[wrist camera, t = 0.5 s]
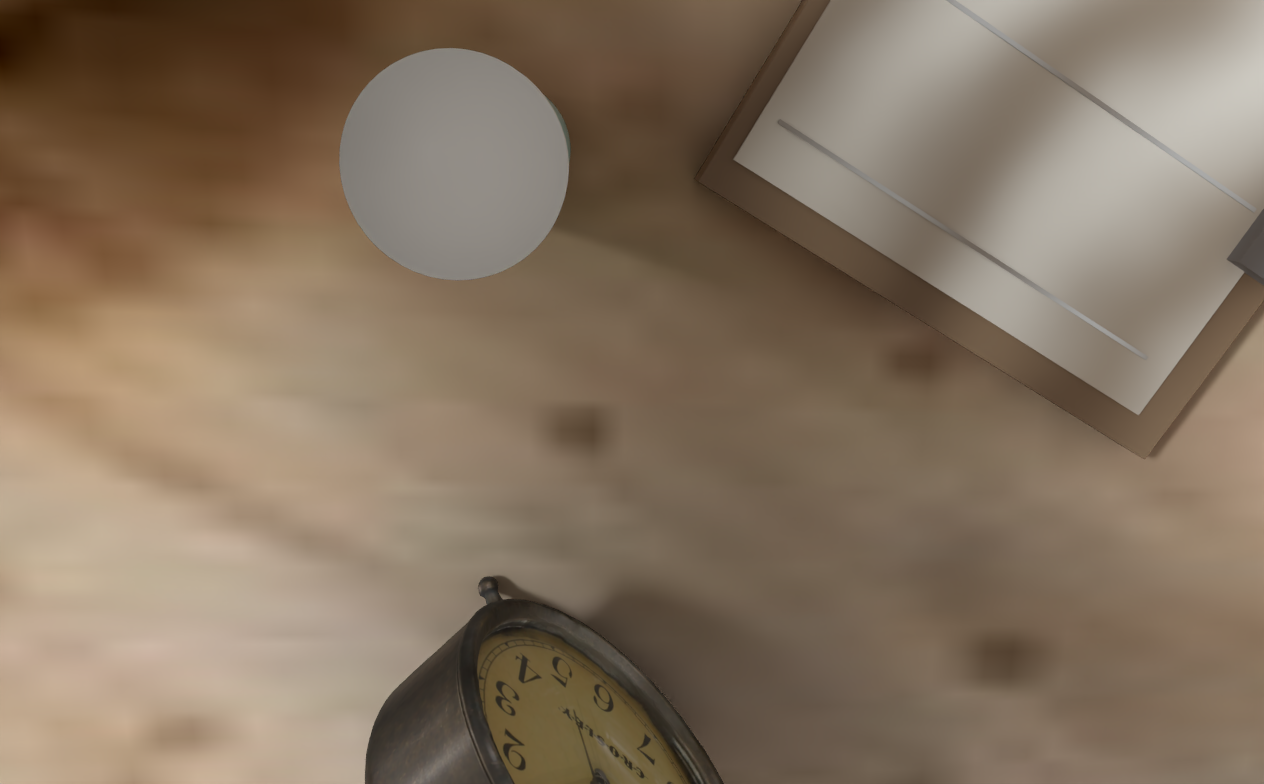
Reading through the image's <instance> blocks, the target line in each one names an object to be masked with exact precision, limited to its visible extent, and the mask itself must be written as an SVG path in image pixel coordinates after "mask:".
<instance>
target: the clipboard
mask: <svg viewBox="0 0 1264 784" xmlns="http://www.w3.org/2000/svg"><path fill="white" fill-rule="evenodd" d="M694 179H695V180H696V181H698V182H700V183H701V184H703V185H704V186H706V187H708V188H709V189H711V190H712V191H714V192H716V193H717V194H719V195H720V196H722V197H724V198H725V199H727V200H728V201H730V202H732V203H733V204H735V205H736V206H738V207H740V208H741V209H743V210H744V211H746V212H748V213H749V214H751V215H752V216H754V217H756V218H757V219H759V220H760V221H762V222H764V223H765V224H767V225H769V226H770V227H772V228H773V229H775V230H777V231H778V232H780V233H781V234H783V235H785V236H786V237H788V238H789V239H791V240H793V241H794V242H796V243H797V244H799V245H801V246H802V247H804V248H805V249H807V250H809V251H810V252H812V253H813V254H815V255H817V256H818V257H820V258H821V259H823V260H825V261H826V262H828V263H829V264H831V265H833V266H834V267H836V268H838V269H839V270H841V271H842V272H844V273H846V274H847V275H849V276H850V277H852V278H854V279H855V280H857V281H858V282H860V283H862V284H863V285H865V286H866V287H868V288H870V289H871V290H873V291H874V292H876V293H878V294H879V295H881V296H882V297H884V298H886V299H887V300H889V301H890V302H892V303H894V304H895V305H897V306H898V307H900V308H902V309H903V310H905V311H907V312H908V313H910V314H911V315H913V316H915V317H916V318H918V319H919V320H921V321H923V322H924V323H926V324H927V325H929V326H931V327H932V328H934V329H935V330H937V331H939V332H940V333H942V334H943V335H945V336H947V337H948V338H950V339H951V340H953V341H955V342H956V343H958V344H959V345H961V346H963V347H964V348H966V349H967V350H969V351H971V352H972V353H974V354H975V355H977V356H979V357H980V358H982V359H984V360H985V361H987V362H988V363H990V364H992V365H993V366H995V367H996V368H998V369H1000V370H1001V371H1003V372H1004V373H1006V374H1008V375H1009V376H1011V377H1012V378H1014V379H1016V380H1017V381H1019V382H1020V383H1022V384H1024V385H1025V386H1027V387H1028V388H1030V389H1032V390H1033V391H1035V392H1036V393H1038V394H1040V395H1041V396H1043V397H1044V398H1046V399H1048V400H1049V401H1051V402H1053V403H1054V404H1056V405H1057V406H1059V407H1061V408H1062V409H1064V410H1065V411H1067V412H1069V413H1070V414H1072V415H1073V416H1075V417H1077V418H1078V419H1080V420H1081V421H1083V422H1085V423H1086V424H1088V425H1089V426H1091V427H1093V428H1094V429H1096V430H1097V431H1099V432H1101V433H1102V434H1104V435H1105V436H1107V437H1109V438H1110V439H1112V440H1113V441H1115V442H1117V443H1118V444H1120V445H1122V446H1123V447H1125V448H1126V449H1128V450H1130V451H1131V452H1133V453H1135V454H1136V455H1138V456H1140V457H1141V458H1143V459H1146V457H1147V456H1148V455H1149V453H1150V452H1151V451H1152V449H1153V448H1154V447H1155V445H1156V444H1157V443H1158V441H1159V440H1160V439H1161V437H1162V436H1163V435H1164V433H1165V432H1166V431H1167V429H1168V428H1169V427H1170V425H1171V424H1172V423H1173V421H1174V420H1175V419H1176V417H1177V416H1178V415H1179V413H1180V412H1181V411H1182V409H1183V408H1184V407H1185V405H1186V404H1187V403H1188V401H1189V400H1190V398H1191V397H1192V396H1193V394H1194V393H1195V392H1196V390H1197V389H1198V388H1199V386H1200V385H1201V384H1202V382H1203V381H1204V380H1205V378H1206V377H1207V376H1208V374H1209V373H1210V372H1211V370H1212V369H1213V368H1214V366H1215V365H1216V364H1217V362H1218V361H1219V360H1220V358H1221V357H1222V356H1223V354H1224V353H1225V352H1226V350H1227V349H1228V348H1229V346H1230V345H1231V344H1232V342H1233V341H1234V340H1235V338H1236V337H1237V336H1238V334H1239V333H1240V332H1241V330H1242V329H1243V328H1244V326H1245V325H1246V324H1247V322H1248V321H1249V320H1250V318H1251V317H1252V316H1253V314H1254V313H1255V312H1256V310H1257V309H1258V308H1259V306H1260V305H1261V304H1262V302H1263V301H1264V0H802V2H801V4H800V5H799V7H798V9H797V10H796V12H795V14H794V15H793V17H792V19H791V20H790V22H789V23H788V25H787V27H786V28H785V30H784V32H783V33H782V35H781V37H780V38H779V40H778V42H777V43H776V45H775V47H774V48H773V50H772V52H771V53H770V55H769V56H768V58H767V60H766V61H765V63H764V65H763V66H762V68H761V70H760V71H759V73H758V75H757V76H756V78H755V80H754V81H753V83H752V84H751V86H750V88H749V89H748V91H747V93H746V94H745V96H744V98H743V99H742V101H741V103H740V104H739V106H738V108H737V109H736V111H735V113H734V114H733V116H732V117H731V119H730V121H729V122H728V124H727V126H726V127H725V129H724V131H723V132H722V134H721V136H720V137H719V139H718V141H717V142H716V144H715V145H714V147H713V149H712V150H711V152H710V154H709V155H708V157H707V159H706V160H705V162H704V164H703V165H702V167H701V169H700V170H699V172H698V174H697V175H696V177H695V178H694Z"/></svg>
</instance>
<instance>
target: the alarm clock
mask: <svg viewBox="0 0 1264 784" xmlns="http://www.w3.org/2000/svg"><path fill="white" fill-rule="evenodd" d="M478 589H479V593H480V596H482V597H484V598H485V599H486V603H487V605H486V606H484V607H482V608H481V609H480V610H479V611H477V612H476V613H475V615H474V616H473V617H472V618H471V619H470V621H469V622H468V623H467V624H466V625H465V626H464V627H462V628H461V629H460V630H459V631H458V632H457V633H456V634H455V635H454V636H453V637H452V638H450V639H449V640H448V641H447V642H446V643H445V644H444V645H443V646H442V647H441V648H440V649H438V650H437V651H436V652H435V653H434V654H433V655H432V656H431V657H430V658H428V659H427V660H426V661H425V662H424V663H423V664H422V665H421V666H420V667H419V668H417V669H416V670H415V671H414V672H413V673H412V674H411V675H410V676H409V677H408V678H407V679H406V680H405V681H403V682H402V683H401V684H400V685H399V686H398V687H397V688H396V689H395V690H394V691H393V692H392V694H391V695H390V696H389V697H388V699H387V700H386V701H385V703H384V705H383V706H382V708H381V710H380V712H379V714H378V716H377V718H376V721H375V723H374V726H373V729H372V732H371V736H370V740H369V744H368V749H367V753H366V767H365V784H724V783H723V781H722V779H721V778H720V776H719V774H718V772H717V770H716V769H715V767H714V765H713V763H712V762H711V760H710V758H709V756H708V755H707V753H706V751H705V750H704V748H703V747H702V746H701V744H700V743H699V742H698V740H697V739H696V737H695V736H694V734H693V733H692V731H691V730H690V729H689V727H688V726H687V724H686V723H685V722H684V720H683V719H682V718H681V716H680V715H679V714H678V713H677V711H676V710H675V709H674V708H673V707H672V705H671V704H670V703H669V701H668V700H667V699H666V698H665V696H664V695H663V694H662V693H661V692H660V690H659V689H658V688H657V687H656V686H655V685H654V684H653V682H652V681H651V680H650V679H649V678H648V677H647V676H646V675H645V674H644V673H643V672H642V671H641V670H640V669H639V668H638V667H637V666H636V665H635V664H634V663H632V662H631V661H630V660H629V659H628V658H627V657H626V656H625V655H624V654H622V653H621V652H620V651H619V650H618V649H617V648H615V647H614V646H613V645H612V644H611V643H609V642H608V641H607V640H606V639H604V638H603V637H602V636H601V635H599V634H598V633H597V632H595V631H594V630H592V629H591V628H589V627H588V626H586V625H585V624H583V623H582V622H580V621H578V620H576V619H574V618H572V617H570V616H568V615H567V614H565V613H563V612H561V611H559V610H557V609H554V608H551V607H548V606H546V605H541V604H538V603H535V602H532V601H527V600H517V599H507V600H502V598H501V597H500V595H499V593H498V582H497V581H496V579H494V578H493V577H484V578H483V579H482V580H481V581H480V583H479V585H478Z"/></svg>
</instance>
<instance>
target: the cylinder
mask: <svg viewBox="0 0 1264 784" xmlns="http://www.w3.org/2000/svg"><path fill="white" fill-rule="evenodd" d="M570 154H571V147H570V138H569V133H568V130H567V127H566V124H565V122H564V119H563V117H562V115H561V114H560V112H559V111H558V109H557V108H556V107H555V105H554V104H553V103H552V102H551V101H550V100H549V99H548V98H547V97H546V96H545V95H544V94H543V93H542V92H541V91H540V90H539V89H538V87H536V86H535V85H534V84H533V83H532V82H531V81H530V80H529V79H528V78H527V77H526V76H524V75H523V74H521V73H520V72H519V71H517V70H516V69H514V68H513V67H512V66H510V65H508V64H506V63H504V62H503V61H501V60H499V59H497V58H494V57H492V56H489V55H486V54H484V53H480V52H476V51H472V50H467V49H457V48H441V49H432V50H427V51H421V52H418V53H415V54H412V55H409V56H407V57H405V58H403V59H401V60H398V61H396V62H394V63H393V64H391V65H390V66H388V67H387V68H385V69H384V70H383V71H381V72H380V73H379V74H378V75H377V76H376V77H374V78H373V79H372V80H371V81H370V82H369V83H368V85H367V86H366V87H365V88H364V89H363V91H362V92H361V93H360V95H359V96H358V98H357V99H356V101H355V103H354V104H353V106H352V108H351V110H350V113H349V115H348V117H347V119H346V122H345V126H344V129H343V133H342V138H341V144H340V161H339V166H340V175H341V182H342V186H343V190H344V194H345V197H346V200H347V202H348V205H349V207H350V210H351V212H352V214H353V216H354V217H355V219H356V221H357V223H358V224H359V226H360V227H361V229H362V230H363V231H364V233H365V234H366V236H367V237H368V238H369V239H370V240H371V241H372V242H373V243H374V244H375V246H376V247H377V248H379V249H380V250H381V251H382V252H383V253H384V254H386V255H387V256H388V257H390V258H391V259H393V260H394V261H396V262H397V263H399V264H400V265H402V266H404V267H406V268H408V269H410V270H412V271H414V272H417V273H420V274H423V275H426V276H429V277H434V278H439V279H445V280H472V279H478V278H483V277H487V276H491V275H494V274H497V273H500V272H502V271H504V270H506V269H508V268H510V267H512V266H514V265H515V264H517V263H518V262H520V261H521V260H523V259H524V258H526V257H527V256H528V255H529V254H530V253H531V252H533V251H534V250H535V249H536V248H537V247H538V246H539V244H540V243H541V242H542V241H543V240H544V239H545V237H546V236H547V234H548V233H549V231H550V230H551V229H552V227H553V225H554V223H555V221H556V219H557V217H558V215H559V213H560V210H561V207H562V204H563V201H564V198H565V194H566V189H567V184H568V176H569V163H570Z"/></svg>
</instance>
